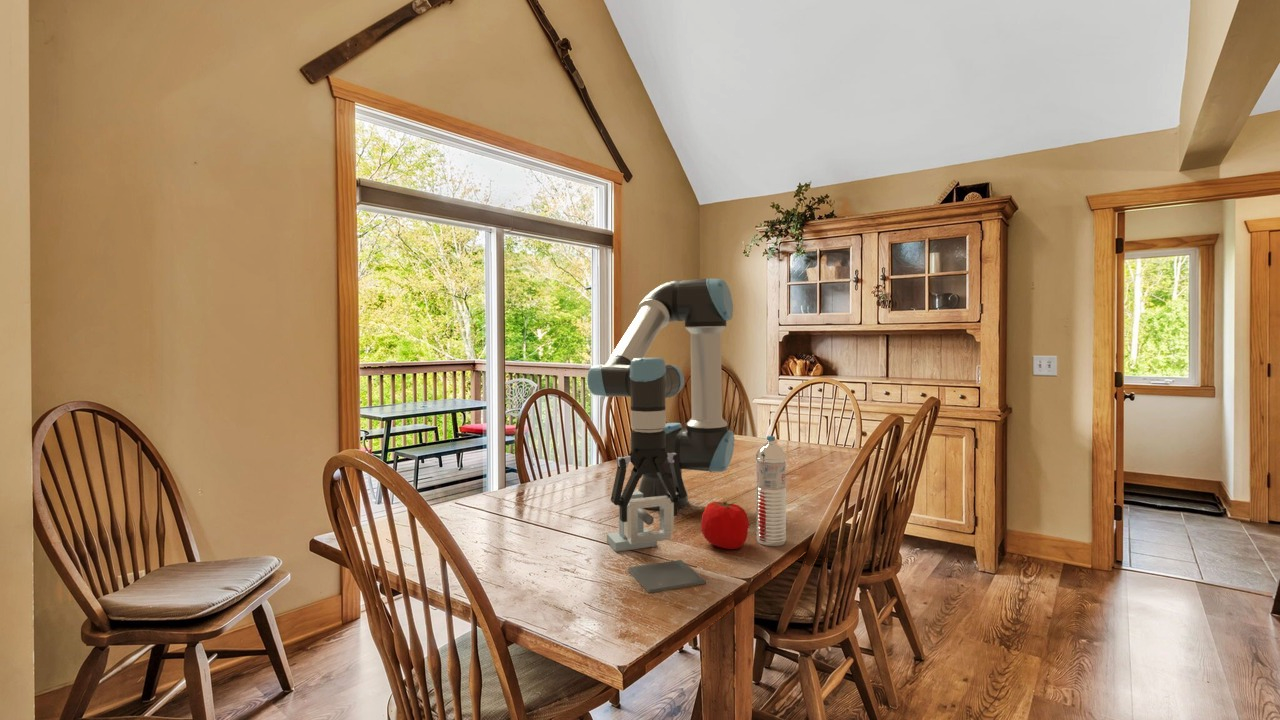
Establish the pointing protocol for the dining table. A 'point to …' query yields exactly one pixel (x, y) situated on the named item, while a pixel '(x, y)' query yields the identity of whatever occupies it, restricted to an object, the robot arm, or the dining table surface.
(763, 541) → the water bottle
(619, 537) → the stand
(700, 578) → the coaster
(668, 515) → the square ring
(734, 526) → the tomato
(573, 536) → the dining table surface
